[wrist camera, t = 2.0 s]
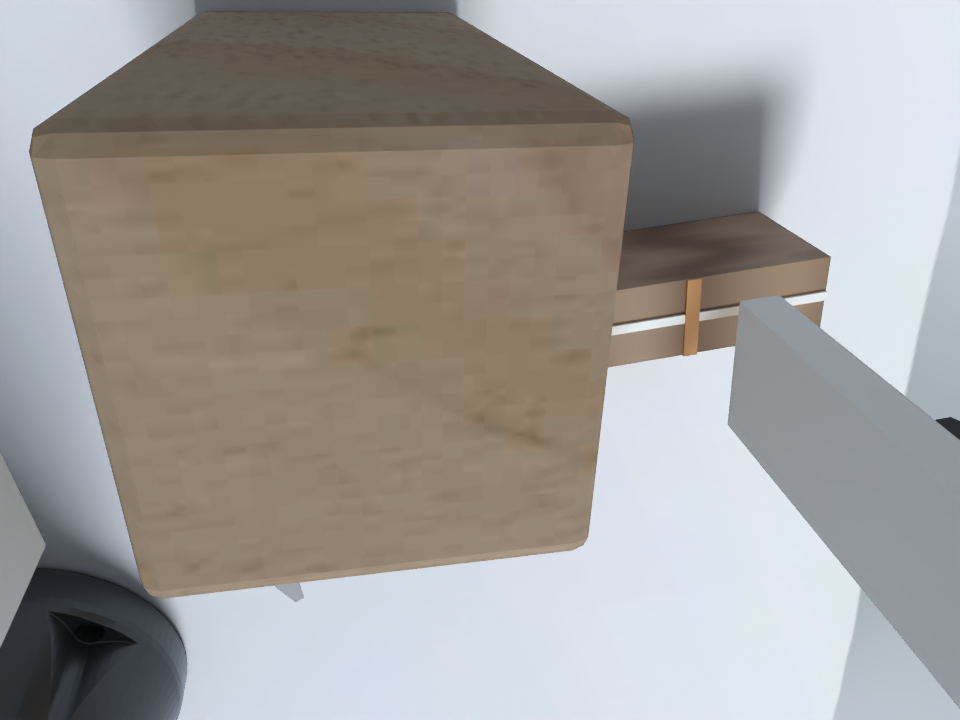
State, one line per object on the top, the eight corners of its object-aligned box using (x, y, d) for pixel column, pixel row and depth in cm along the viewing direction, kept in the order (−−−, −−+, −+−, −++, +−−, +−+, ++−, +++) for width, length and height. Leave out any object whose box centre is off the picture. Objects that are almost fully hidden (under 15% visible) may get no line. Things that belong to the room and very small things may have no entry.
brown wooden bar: (269, 355, 36) (261, 428, 31) (251, 286, 34) (240, 351, 29) (752, 278, 39) (820, 332, 33) (758, 211, 37) (832, 258, 32)
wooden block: (193, 9, 29) (9, 126, 11) (459, 11, 30) (647, 115, 13) (230, 261, 33) (139, 611, 16) (457, 251, 35) (593, 556, 18)
